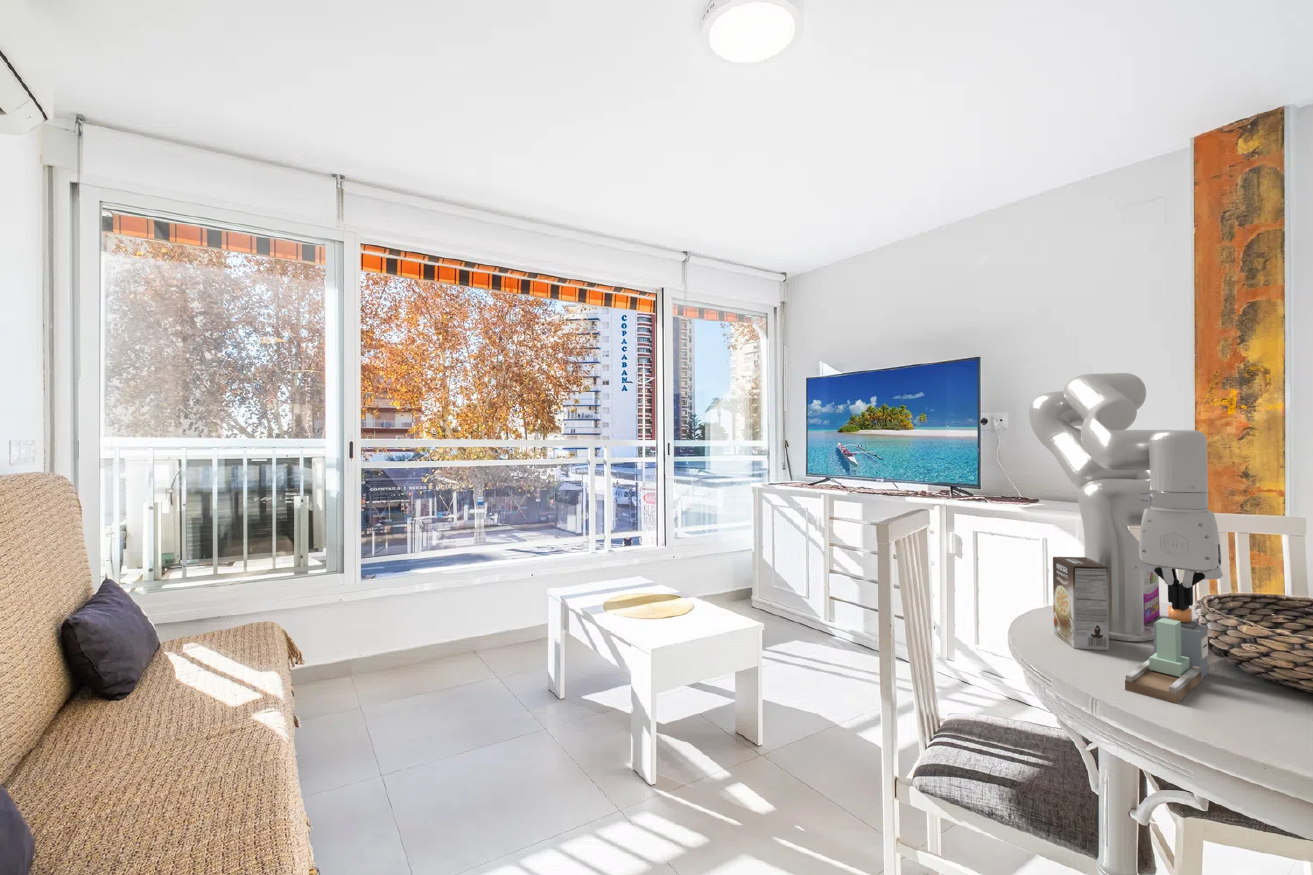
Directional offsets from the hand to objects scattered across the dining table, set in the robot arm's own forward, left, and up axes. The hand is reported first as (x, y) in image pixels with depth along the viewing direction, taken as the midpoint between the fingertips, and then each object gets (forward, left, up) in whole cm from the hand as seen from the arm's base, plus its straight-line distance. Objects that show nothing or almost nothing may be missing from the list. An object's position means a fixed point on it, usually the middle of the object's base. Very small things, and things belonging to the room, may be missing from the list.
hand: (1180, 608), depth 102 cm
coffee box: (-4, -16, -11) cm, 20 cm away
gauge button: (0, 0, -2) cm, 2 cm away
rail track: (+9, 0, -11) cm, 14 cm away
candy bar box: (-31, -14, -11) cm, 36 cm away
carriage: (+6, 0, -9) cm, 11 cm away
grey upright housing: (0, 0, -11) cm, 11 cm away
